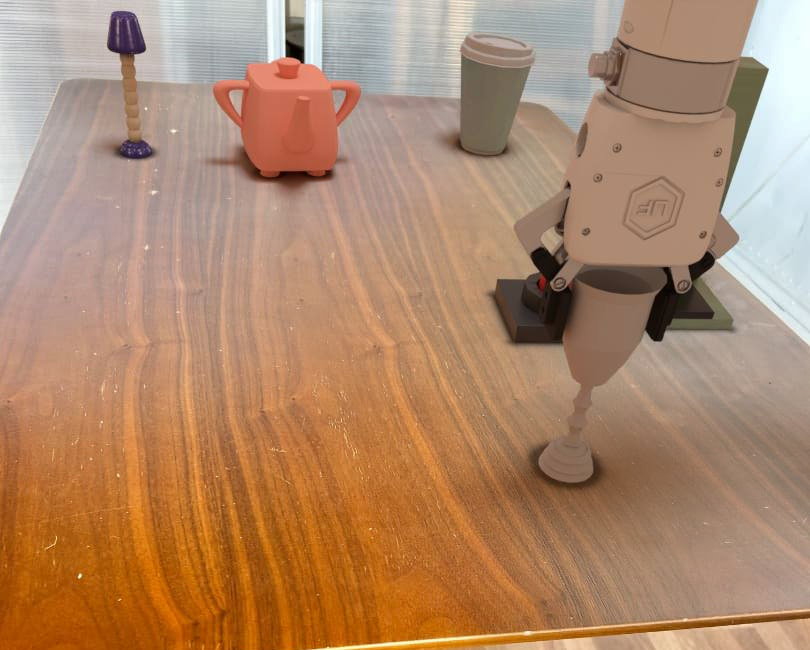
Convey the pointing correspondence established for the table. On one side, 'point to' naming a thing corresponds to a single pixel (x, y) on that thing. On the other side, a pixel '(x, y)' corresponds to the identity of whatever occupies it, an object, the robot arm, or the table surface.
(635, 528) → the table surface
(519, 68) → the disposable coffee cup
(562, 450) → the chalice
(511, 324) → the button block
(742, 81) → the green panel on base
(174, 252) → the table surface
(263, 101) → the teapot
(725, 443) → the table surface
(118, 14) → the toy lamp
